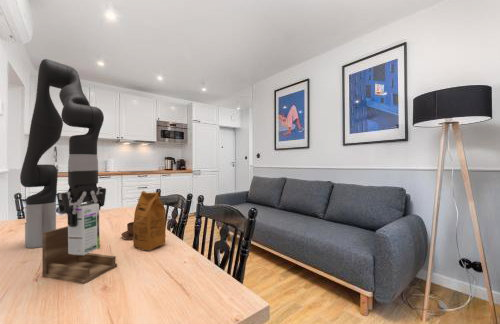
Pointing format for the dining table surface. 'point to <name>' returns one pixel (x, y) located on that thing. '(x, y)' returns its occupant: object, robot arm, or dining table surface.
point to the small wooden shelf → (71, 260)
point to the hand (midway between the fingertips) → (83, 223)
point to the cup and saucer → (128, 231)
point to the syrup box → (85, 230)
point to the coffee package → (149, 222)
